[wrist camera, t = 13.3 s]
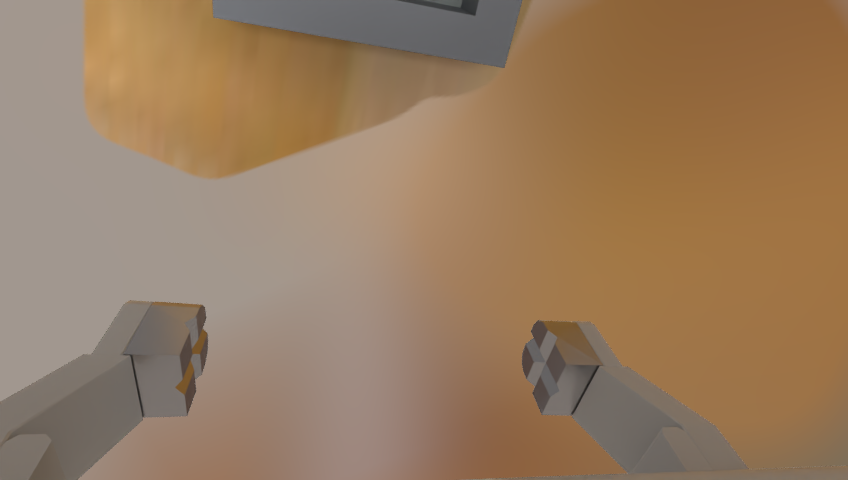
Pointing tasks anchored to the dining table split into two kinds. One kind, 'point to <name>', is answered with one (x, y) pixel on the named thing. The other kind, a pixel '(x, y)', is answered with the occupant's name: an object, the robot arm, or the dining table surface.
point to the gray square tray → (393, 23)
